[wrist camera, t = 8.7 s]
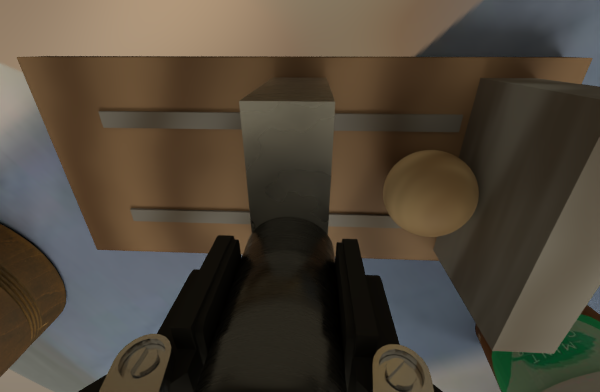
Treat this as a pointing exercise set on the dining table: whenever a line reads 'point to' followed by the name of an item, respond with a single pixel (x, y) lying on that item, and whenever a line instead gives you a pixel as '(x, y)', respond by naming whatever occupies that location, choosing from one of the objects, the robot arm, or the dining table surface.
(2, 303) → the wooden container
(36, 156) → the dining table surface
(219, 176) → the base
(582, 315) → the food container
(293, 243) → the sliding jaw
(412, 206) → the walnut
